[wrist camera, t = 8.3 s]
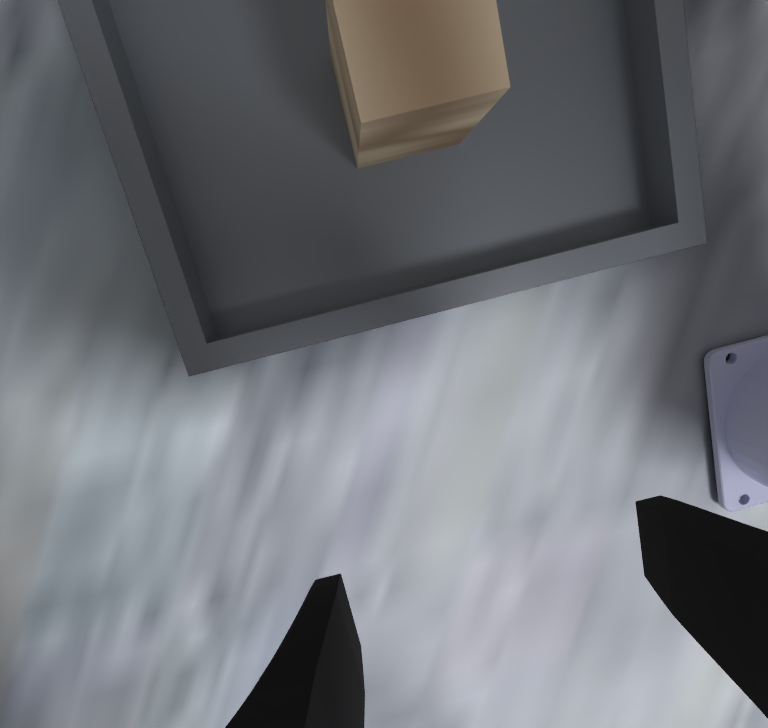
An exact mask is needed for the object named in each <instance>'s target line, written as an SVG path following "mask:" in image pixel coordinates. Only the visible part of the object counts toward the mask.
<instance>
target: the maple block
mask: <svg viewBox="0 0 768 728" xmlns="http://www.w3.org/2000/svg"><path fill="white" fill-rule="evenodd" d="M325 1H326V12H327V23H328V34H329V44H330V55H331V59H332V63H333V67H334V72H335V76H336V80H337V84H338V89H339V93H340V97H341V101H342V105H343V110H344V114H345V118H346V122H347V126H348V131H349V135H350V139H351V143H352V148H353V152H354V156H355V160H356V164H357V169H358V168H362V167H367V166H371V165H375V164H379V163H383V162H387V161H391V160H395V159H400V158H404V157H408V156H412V155H416V154H420V153H424V152H428V151H432V150H437V149H441V148H445V147H449V146H453V145H457V144H460V143H461V141H462V140H463V139H464V138H465V137H466V136H467V135H468V134H469V133H470V131H471V130H472V129H473V128H474V127H475V126H476V125H477V124H478V123H479V121H480V120H481V119H482V118H483V117H484V116H485V115H486V114H487V113H488V112H489V110H490V109H491V108H492V107H493V106H494V105H495V104H496V103H497V102H498V100H499V99H500V98H501V97H502V96H503V95H504V94H505V93H506V92H507V90H508V89H509V88H510V81H509V75H508V69H507V63H506V57H505V51H504V45H503V39H502V33H501V27H500V21H499V15H498V9H497V3H496V0H325Z"/></svg>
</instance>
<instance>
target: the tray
mask: <svg viewBox="0 0 768 728" xmlns="http://www.w3.org/2000/svg"><path fill="white" fill-rule="evenodd" d="M58 2H59V5H60V8H61V11H62V14H63V17H64V19H65V22H66V25H67V28H68V31H69V34H70V37H71V40H72V42H73V45H74V48H75V51H76V54H77V57H78V60H79V62H80V65H81V68H82V71H83V74H84V77H85V80H86V83H87V85H88V88H89V91H90V94H91V97H92V100H93V103H94V106H95V108H96V111H97V114H98V117H99V120H100V123H101V126H102V128H103V131H104V134H105V137H106V140H107V143H108V146H109V149H110V151H111V154H112V157H113V160H114V163H115V166H116V169H117V171H118V174H119V177H120V180H121V183H122V186H123V189H124V192H125V194H126V197H127V200H128V203H129V206H130V209H131V212H132V215H133V217H134V220H135V223H136V226H137V229H138V232H139V235H140V237H141V240H142V243H143V246H144V249H145V252H146V255H147V258H148V260H149V263H150V266H151V269H152V272H153V275H154V278H155V280H156V283H157V286H158V289H159V292H160V295H161V298H162V301H163V303H164V306H165V309H166V312H167V315H168V318H169V321H170V323H171V326H172V329H173V332H174V335H175V338H176V341H177V344H178V346H179V349H180V352H181V355H182V358H183V361H184V364H185V367H186V369H187V372H188V375H189V376H192V375H196V374H200V373H204V372H208V371H212V370H215V369H219V368H223V367H227V366H231V365H235V364H239V363H243V362H246V361H250V360H254V359H258V358H262V357H266V356H270V355H274V354H278V353H281V352H285V351H289V350H293V349H297V348H301V347H305V346H309V345H312V344H316V343H320V342H324V341H328V340H332V339H336V338H340V337H344V336H347V335H351V334H355V333H359V332H363V331H367V330H371V329H375V328H378V327H382V326H386V325H390V324H394V323H398V322H402V321H406V320H409V319H413V318H417V317H421V316H425V315H429V314H433V313H437V312H441V311H444V310H448V309H452V308H456V307H460V306H464V305H468V304H472V303H475V302H479V301H483V300H487V299H491V298H495V297H499V296H503V295H507V294H510V293H514V292H518V291H522V290H526V289H530V288H534V287H538V286H541V285H545V284H549V283H553V282H557V281H561V280H565V279H569V278H573V277H576V276H580V275H584V274H588V273H592V272H596V271H600V270H604V269H607V268H611V267H615V266H619V265H623V264H627V263H631V262H635V261H639V260H642V259H646V258H650V257H654V256H658V255H662V254H666V253H670V252H673V251H677V250H681V249H685V248H689V247H693V246H697V245H701V244H704V243H707V237H706V227H705V217H704V207H703V197H702V186H701V176H700V166H699V156H698V145H697V135H696V125H695V115H694V105H693V94H692V84H691V74H690V64H689V53H688V43H687V33H686V23H685V13H684V2H683V0H496V3H497V9H498V15H499V21H500V27H501V33H502V39H503V45H504V51H505V57H506V63H507V69H508V75H509V81H510V88H509V89H508V90H507V92H506V93H505V94H504V95H503V96H502V97H501V98H500V99H499V100H498V102H497V103H496V104H495V105H494V106H493V107H492V108H491V109H490V110H489V112H488V113H487V114H486V115H485V116H484V117H483V118H482V119H481V120H480V121H479V123H478V124H477V125H476V126H475V127H474V128H473V129H472V130H471V131H470V133H469V134H468V135H467V136H466V137H465V138H464V139H463V140H462V141H461V143H460V144H457V145H453V146H449V147H445V148H441V149H437V150H432V151H428V152H424V153H420V154H416V155H412V156H408V157H404V158H400V159H395V160H391V161H387V162H383V163H379V164H375V165H371V166H367V167H362V168H358V169H357V164H356V160H355V156H354V152H353V148H352V143H351V139H350V135H349V131H348V126H347V122H346V118H345V114H344V110H343V105H342V101H341V97H340V93H339V89H338V84H337V80H336V76H335V72H334V67H333V63H332V59H331V55H330V44H329V34H328V23H327V12H326V1H325V0H58Z"/></svg>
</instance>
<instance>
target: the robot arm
mask: <svg viewBox="0 0 768 728" xmlns="http://www.w3.org/2000/svg"><path fill="white" fill-rule="evenodd" d="M728 354H730V359H729V360H728V361H727V362H726V356H727V355H728ZM704 369H705V379H706V388H707V398H708V407H709V417H710V426H711V436H712V445H713V455H714V464H715V474H716V484H717V493H718V502H719V505H720V506H721V507H722V508H724V509H726V510H727V511H736V510H740V509H744V508H748V507H751V506H755V505H759V504H763V503H766V502H768V335H766V336H762V337H758V338H755V339H751V340H747V341H743V342H739V343H735V344H732V345H728V346H724V347H720V348H716V349H713V350H711V351H709V352H708V353H707V354H706V356H705V358H704ZM742 495H743V496H742ZM741 496H742V498H741V499H740V500H739V498H740V497H741ZM636 510H637V518H638V526H639V534H640V542H641V551H642V559H643V567H644V575H645V577H646V578H647V580H648V581H649V583H650V584H651V586H652V587H653V588H654V590H655V591H656V593H657V594H658V596H659V597H660V598H661V600H662V601H663V602H664V604H665V605H666V606H667V608H668V609H669V610H670V612H671V613H672V614H673V616H674V617H675V618H676V619H677V620H678V621H679V622H680V623H681V625H682V626H683V627H684V628H685V629H686V630H687V631H688V632H689V633H690V634H691V635H692V637H693V638H694V639H695V640H696V641H697V642H698V643H699V644H700V645H701V646H702V647H703V649H704V650H705V651H706V652H707V653H708V654H709V655H710V656H711V657H712V658H713V659H714V660H715V661H716V663H717V664H718V665H719V666H720V667H721V668H722V669H723V670H724V671H725V672H726V673H727V674H728V675H729V677H730V678H731V679H732V680H733V681H734V682H735V683H736V684H737V685H738V686H739V687H740V688H741V689H742V691H743V692H744V693H745V694H746V695H747V696H748V697H749V698H750V699H751V700H752V701H753V702H754V703H755V705H756V706H757V707H758V708H759V709H760V710H761V711H762V712H763V714H764V715H765V716H766V717H767V718H768V532H767V531H764V530H761V529H758V528H755V527H752V526H749V525H746V524H743V523H741V522H738V521H735V520H732V519H729V518H726V517H723V516H721V515H718V514H715V513H712V512H709V511H706V510H704V509H701V508H698V507H695V506H692V505H689V504H686V503H683V502H680V501H677V500H674V499H671V498H667V497H664V496H656V497H652V498H648V499H644V500H640V501H636ZM364 709H365V689H364V675H363V664H362V652H361V644H360V641H359V637H358V634H357V630H356V627H355V623H354V619H353V616H352V612H351V609H350V605H349V601H348V598H347V594H346V591H345V587H344V583H343V580H342V576H341V574H337V575H333V576H329V577H325V578H321V579H317V580H315V582H314V583H313V585H312V586H311V588H310V590H309V592H308V594H307V596H306V598H305V600H304V602H303V604H302V606H301V608H300V610H299V612H298V614H297V616H296V618H295V619H294V621H293V623H292V625H291V627H290V629H289V630H288V632H287V634H286V636H285V638H284V639H283V641H282V643H281V645H280V646H279V648H278V650H277V652H276V653H275V655H274V657H273V658H272V660H271V662H270V663H269V665H268V666H267V668H266V669H265V671H264V673H263V674H262V676H261V677H260V679H259V681H258V682H257V684H256V685H255V687H254V688H253V690H252V691H251V693H250V694H249V696H248V697H247V699H246V700H245V702H244V703H243V704H242V706H241V707H240V709H239V710H238V711H237V713H236V714H235V715H234V717H233V718H232V719H231V721H230V722H229V723H228V725H227V726H226V727H225V728H364Z"/></svg>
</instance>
